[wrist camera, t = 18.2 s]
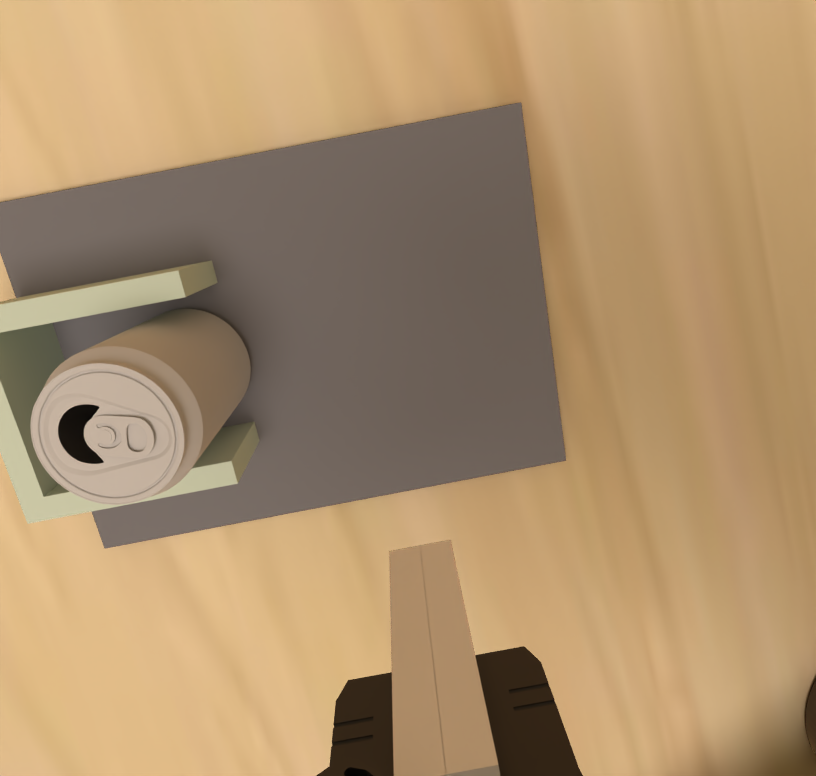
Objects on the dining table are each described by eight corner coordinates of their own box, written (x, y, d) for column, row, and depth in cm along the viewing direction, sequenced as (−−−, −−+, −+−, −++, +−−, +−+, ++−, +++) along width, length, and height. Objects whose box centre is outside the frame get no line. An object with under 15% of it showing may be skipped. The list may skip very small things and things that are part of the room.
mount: (563, 456, 39) (600, 505, 32) (108, 543, 39) (56, 608, 32) (518, 104, 33) (552, 78, 27) (-10, 205, 33) (-101, 204, 27)
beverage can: (133, 303, 34) (7, 350, 23) (253, 308, 35) (189, 357, 23) (140, 416, 36) (26, 512, 25) (255, 420, 36) (196, 517, 25)
